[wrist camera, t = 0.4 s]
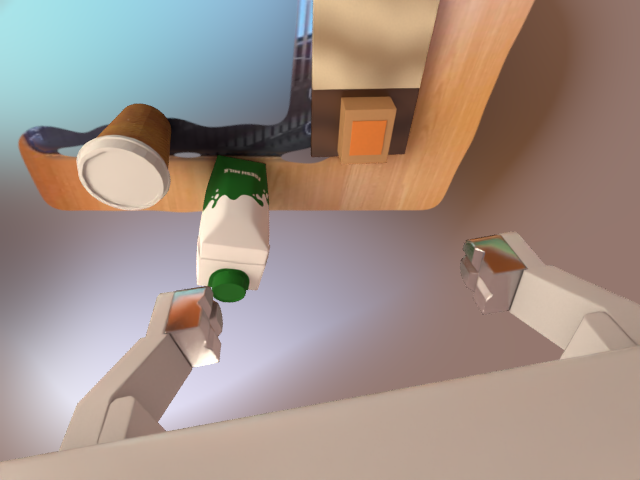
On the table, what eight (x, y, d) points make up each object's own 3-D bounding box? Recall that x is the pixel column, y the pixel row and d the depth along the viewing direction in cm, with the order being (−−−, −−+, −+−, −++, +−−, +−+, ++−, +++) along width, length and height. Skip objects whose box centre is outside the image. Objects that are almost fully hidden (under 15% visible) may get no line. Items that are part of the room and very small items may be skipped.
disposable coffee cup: (177, 92, 46) (158, 145, 38) (188, 157, 53) (175, 213, 45) (95, 88, 44) (57, 141, 36) (117, 155, 51) (90, 213, 43)
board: (312, -6, 40) (313, -3, 39) (436, -5, 41) (440, -2, 40) (310, 152, 54) (311, 157, 53) (402, 149, 56) (404, 154, 55)
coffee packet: (341, 97, 47) (345, 110, 45) (390, 96, 48) (397, 109, 45) (337, 150, 53) (340, 165, 51) (381, 149, 54) (386, 163, 51)
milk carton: (206, 195, 58) (189, 301, 44) (212, 147, 52) (193, 252, 38) (262, 204, 60) (261, 306, 47) (273, 158, 54) (276, 261, 41)
